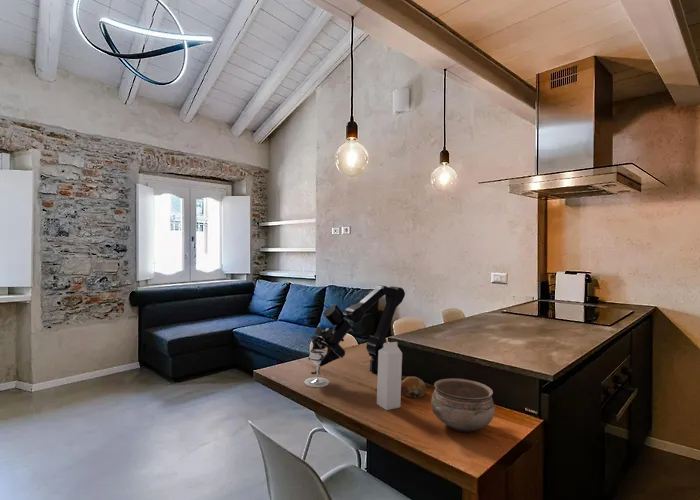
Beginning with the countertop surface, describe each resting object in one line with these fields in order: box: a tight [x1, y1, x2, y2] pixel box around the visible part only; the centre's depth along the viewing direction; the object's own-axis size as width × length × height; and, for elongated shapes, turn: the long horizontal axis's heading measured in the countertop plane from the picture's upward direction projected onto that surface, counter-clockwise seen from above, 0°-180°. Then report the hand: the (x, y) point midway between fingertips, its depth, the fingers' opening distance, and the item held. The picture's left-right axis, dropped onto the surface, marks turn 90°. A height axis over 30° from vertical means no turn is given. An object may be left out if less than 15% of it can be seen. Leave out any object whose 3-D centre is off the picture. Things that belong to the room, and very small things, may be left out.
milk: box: [376, 341, 403, 411], centre depth 135 cm, size 6×6×22 cm
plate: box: [304, 376, 330, 388], centre depth 155 cm, size 10×10×1 cm
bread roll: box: [401, 376, 427, 399], centre depth 148 cm, size 10×10×8 cm
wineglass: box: [308, 349, 327, 383], centre depth 155 cm, size 7×7×12 cm
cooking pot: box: [430, 378, 496, 433], centre depth 120 cm, size 25×19×12 cm
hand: (314, 362), depth 154 cm, fingers open, 9 cm apart
